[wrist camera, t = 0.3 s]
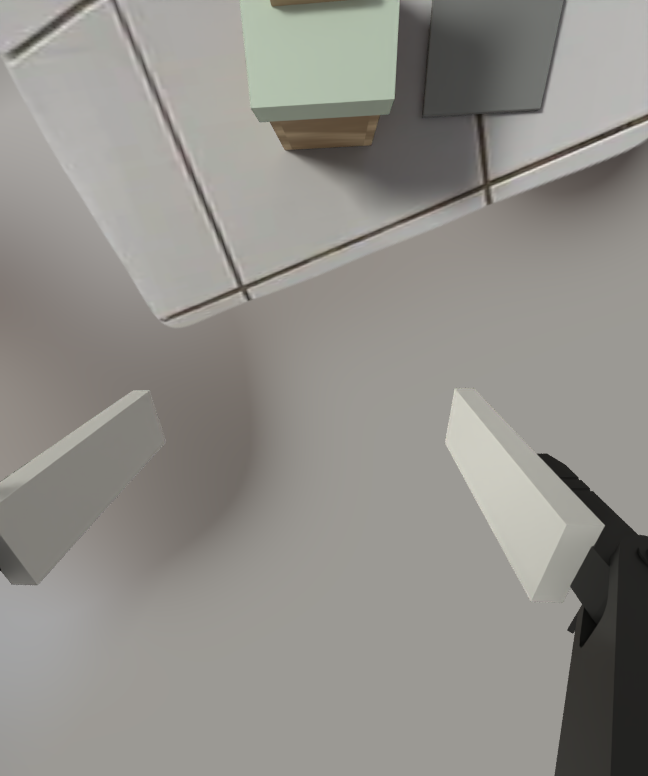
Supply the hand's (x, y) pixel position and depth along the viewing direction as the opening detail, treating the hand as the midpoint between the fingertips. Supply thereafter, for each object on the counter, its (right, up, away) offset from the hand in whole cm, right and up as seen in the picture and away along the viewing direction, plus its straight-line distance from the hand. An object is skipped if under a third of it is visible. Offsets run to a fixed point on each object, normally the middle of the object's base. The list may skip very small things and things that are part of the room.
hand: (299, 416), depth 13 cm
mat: (+16, +34, +13) cm, 40 cm away
